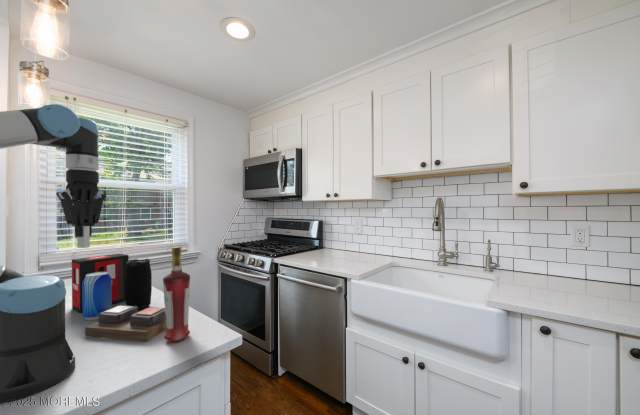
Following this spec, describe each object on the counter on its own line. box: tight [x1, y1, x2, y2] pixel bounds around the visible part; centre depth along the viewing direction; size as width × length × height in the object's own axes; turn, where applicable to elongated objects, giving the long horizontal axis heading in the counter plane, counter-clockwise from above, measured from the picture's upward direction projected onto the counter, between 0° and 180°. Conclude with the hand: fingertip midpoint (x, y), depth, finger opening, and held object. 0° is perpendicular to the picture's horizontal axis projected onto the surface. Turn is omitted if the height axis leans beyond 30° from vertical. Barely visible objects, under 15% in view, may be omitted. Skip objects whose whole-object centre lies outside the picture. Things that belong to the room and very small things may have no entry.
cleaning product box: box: [71, 253, 130, 314], centre depth 113 cm, size 16×9×20 cm, turn 148°
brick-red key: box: [136, 306, 164, 316], centre depth 88 cm, size 5×5×2 cm
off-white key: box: [104, 305, 133, 314], centre depth 90 cm, size 5×5×2 cm
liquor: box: [162, 246, 191, 343], centre depth 82 cm, size 7×7×28 cm
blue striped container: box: [82, 272, 113, 321], centre depth 100 cm, size 8×8×16 cm
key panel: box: [84, 304, 166, 343], centre depth 89 cm, size 14×22×6 cm, turn 80°
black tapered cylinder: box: [124, 258, 153, 311], centre depth 107 cm, size 9×9×20 cm
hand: (83, 247), depth 82 cm, fingers closed
